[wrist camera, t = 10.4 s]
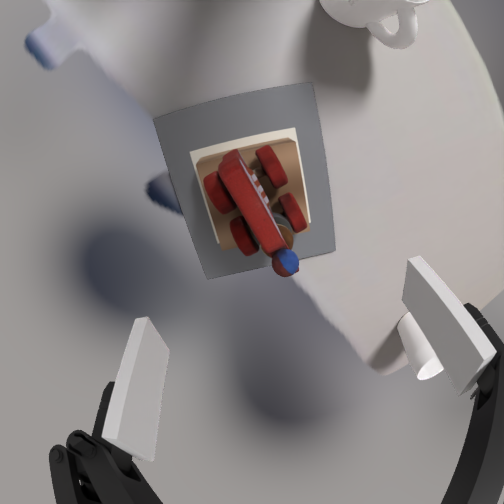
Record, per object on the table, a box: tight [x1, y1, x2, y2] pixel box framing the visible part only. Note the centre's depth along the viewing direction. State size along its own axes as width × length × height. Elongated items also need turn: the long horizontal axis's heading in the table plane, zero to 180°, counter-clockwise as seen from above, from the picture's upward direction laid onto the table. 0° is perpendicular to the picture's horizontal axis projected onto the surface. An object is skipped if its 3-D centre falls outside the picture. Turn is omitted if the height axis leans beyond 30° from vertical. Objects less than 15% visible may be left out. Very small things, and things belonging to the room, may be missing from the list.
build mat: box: [153, 82, 336, 279], centre depth 31 cm, size 22×18×1 cm
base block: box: [196, 138, 310, 251], centre depth 29 cm, size 10×10×4 cm
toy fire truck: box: [203, 145, 307, 277], centre depth 23 cm, size 7×12×10 cm, turn 26°
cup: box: [397, 312, 444, 380], centre depth 41 cm, size 9×9×12 cm
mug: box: [319, 0, 429, 49], centre depth 15 cm, size 8×12×12 cm
